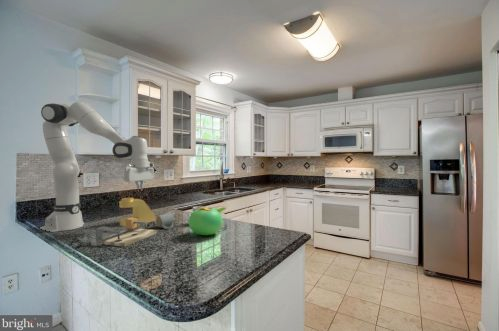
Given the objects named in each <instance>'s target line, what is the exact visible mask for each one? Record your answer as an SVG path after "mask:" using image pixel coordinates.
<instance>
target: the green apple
mask: <svg viewBox="0 0 499 331" xmlns="http://www.w3.org/2000/svg"><path fill="white" fill-rule="evenodd" d="M226 209H227V207H226V206H222V207H217V208H211V207H207V208H204V207H200V209H197V210H195V211H194V212H193V211H192V212H193V213H192V214H191V213H190V215H189V218H188V226H189V228H190V230H191V231H192V232H194V233H195V234H197V235H199V236H211V235H215V234H216V233H217V232H219V231H220V230H221V228H222V226H223V222H224V221H223V220H224V219H223V216H222V215H221V212H223V211H225V210H226Z"/></svg>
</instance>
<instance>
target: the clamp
mask: <svg viewBox="0 0 499 331" xmlns="http://www.w3.org/2000/svg"><path fill="white" fill-rule="evenodd" d="M118 202H119V204H118V205H119V208H121V209H126V208H127V209H129V208H132V216H128V217H122V218H120V219H119V227H126V219H128V218H137V221H142V222H147V223H151V222H156V219H157V216H156V215H155V213H154V212H153V211H152V209H151V208H150V207H149V205H148V204H147V203H146V202H145V201H144V200H143V199H141V198H135V197H123V198H121V199H120V200H119V201H118Z"/></svg>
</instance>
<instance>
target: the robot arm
mask: <svg viewBox="0 0 499 331" xmlns="http://www.w3.org/2000/svg"><path fill="white" fill-rule="evenodd" d="M40 111H41V112H40V114H41V117H42V118H43V119H44V122H43V123H42V132H43V133H42V134H43V137H44V141H45V144H46V147H47V151H48V154H49V156H50V158H51V159H52V162H53V164H54V166H53V169H52V175H53V183H54V189H55V205H54V206H52V208H53V211H52V212H51V213H50V214H49V215H48V216H47V217H45V221H44V225H43V226H41V227H39V230H41V229H42V230H41V231H45V230H46V232H49V231H50V232H49V233H56V232H64V231H71V230H75V229H80V228H82V227H84V225H85V222H84V221H83V220H84V219H83V215H82V211H81V210H80V209H81V202H80V187H79V180H78V176H79V174H80V172H81V169H80V165H79V163H78V161H77V158H76V155H75V152H74V150H73V147H72V143H71V140H70V136H69V133H68V129H67V128H68V127H73V126H75V125H77V124H79V126H81V127H82V128H83V129H84V130H86V131H88V132H90V133H91V134H94V135H97V136H100V137H103V138H105V139H107V140H109V141H110V142H111V143H113V144H114V145H113V146H112V153H113V156H114V157H115V158H117V159H121V160H130V164H126V166H125V168H124V173H123V174H124V175H123V180H124V182H126V183H130V182H131V183H132V182H134V183H135V185H136V188H137V190H140V189H144V184H145V181H151V180H154V178H155V170H154V167H155V164H154V163H153V162H150V161H149V158H148V152H149V149H148V141H147V139H146V137H143V136H138V135H132V136H131V137H130V138H128V139H126V138H125V137H123V136H122V135H121V134H120V133H119V132H117V130H115V129H114V128H113V127H112V126H111V125H110V124H109V123H108V122H107V121H106V120H105V119H104V117H102V116H101V115H100V113H98V112H97V111H96V110H95V109H94V108H93V107H91V106H89V105H88V104H86V102H82V101H75V102H74V103H72V104H67V103H66V104H65V103H47V104H44V105H43V106H42V108H41V110H40Z"/></svg>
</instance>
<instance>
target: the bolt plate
mask: <svg viewBox="0 0 499 331" xmlns="http://www.w3.org/2000/svg"><path fill="white" fill-rule="evenodd" d="M157 233H158V230H157V229H145V228H138V229H136V230H133V231H131V232H128V233H125V234H122V235H120V239H118V236H117V237H114V238H111V239H109V240H106V241H104V243H103V245H108V246H114V247H115V246H116V247H124V248H125V247H127V246H130V245H133V244H134V243H136V242H140V241H141V240H144V239H146V238H149V237H150V236H153V235H155V234H157Z"/></svg>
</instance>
